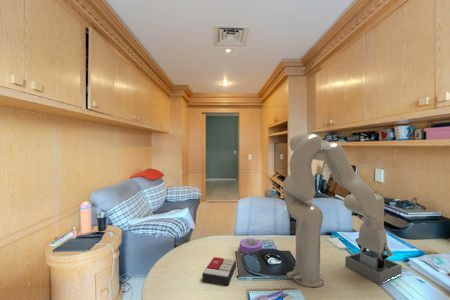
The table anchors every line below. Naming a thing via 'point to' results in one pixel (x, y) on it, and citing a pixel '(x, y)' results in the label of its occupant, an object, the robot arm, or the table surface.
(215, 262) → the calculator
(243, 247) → the masking tape
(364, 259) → the grey block
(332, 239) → the hard drive
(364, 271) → the grey crate
